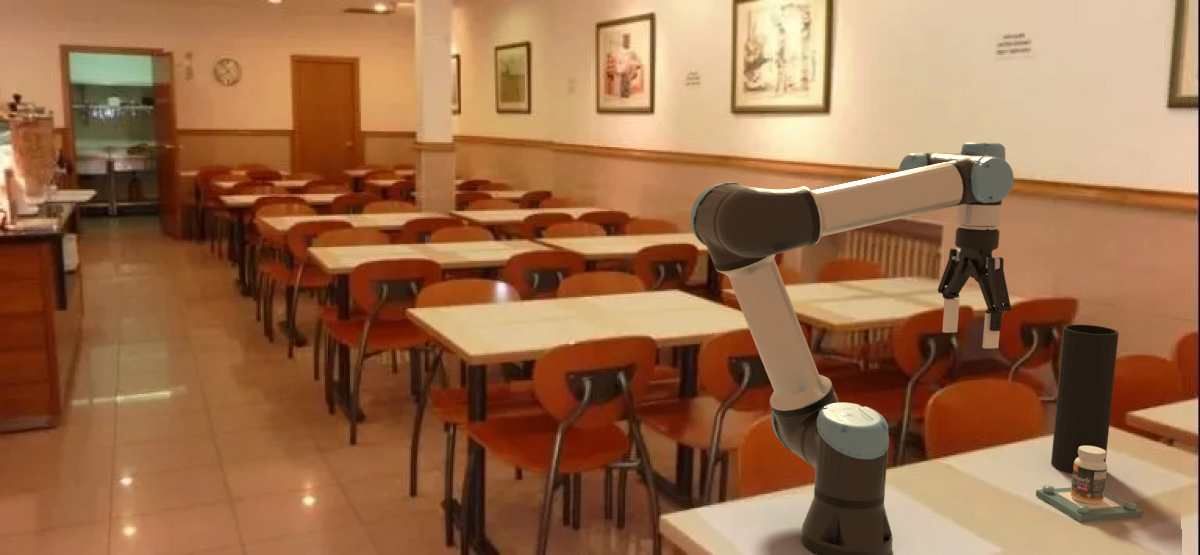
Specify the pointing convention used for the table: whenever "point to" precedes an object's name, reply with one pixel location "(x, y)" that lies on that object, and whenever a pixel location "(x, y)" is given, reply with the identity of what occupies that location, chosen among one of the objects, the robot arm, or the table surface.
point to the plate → (1089, 505)
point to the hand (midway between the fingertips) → (969, 339)
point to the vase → (1083, 392)
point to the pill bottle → (1089, 475)
